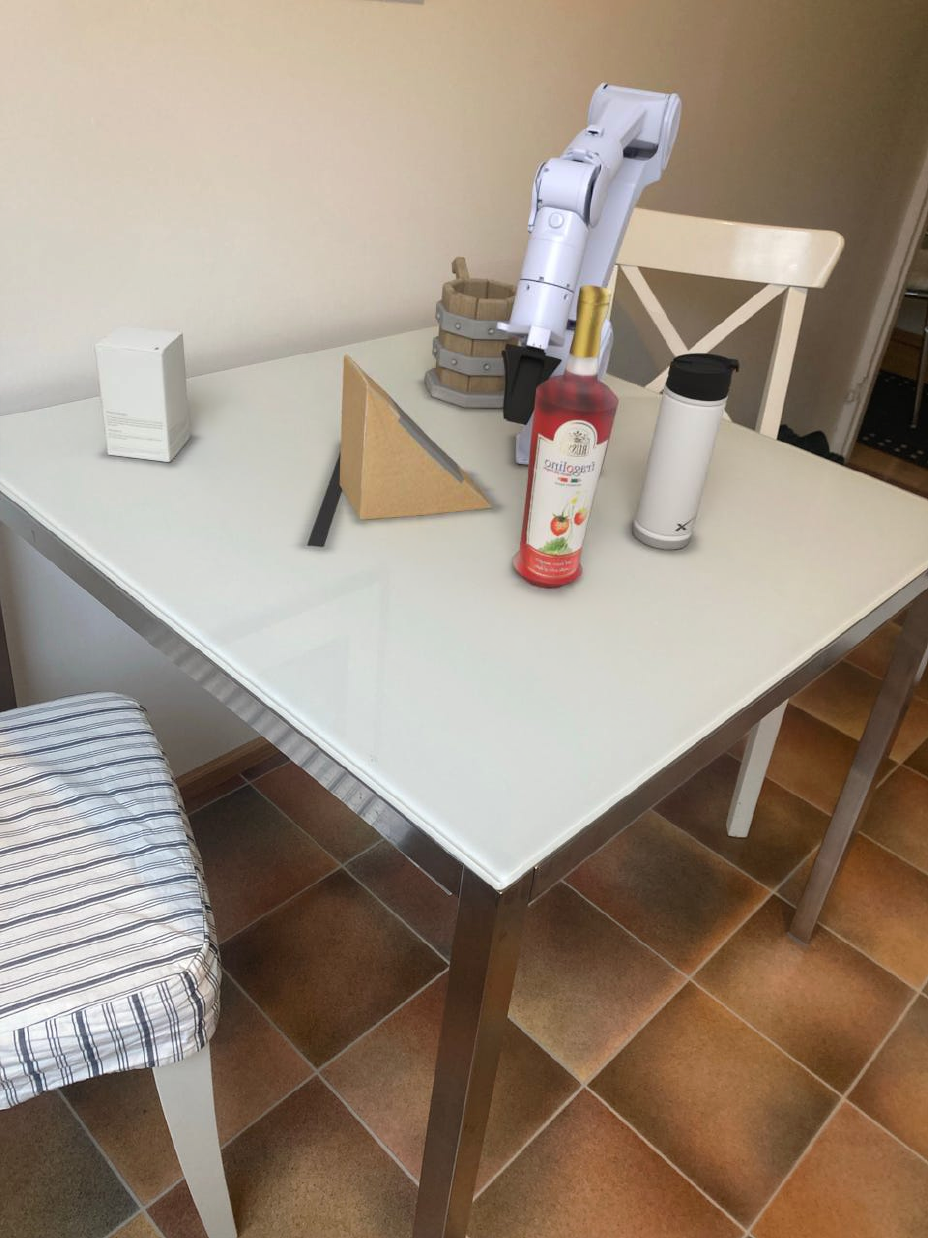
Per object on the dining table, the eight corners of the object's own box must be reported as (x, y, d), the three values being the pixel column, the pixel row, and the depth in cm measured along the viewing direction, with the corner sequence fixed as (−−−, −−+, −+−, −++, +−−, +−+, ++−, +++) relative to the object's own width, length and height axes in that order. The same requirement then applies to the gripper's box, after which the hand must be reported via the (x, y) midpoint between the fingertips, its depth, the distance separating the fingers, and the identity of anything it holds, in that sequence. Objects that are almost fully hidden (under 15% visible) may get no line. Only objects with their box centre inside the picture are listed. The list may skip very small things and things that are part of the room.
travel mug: (692, 556, 104) (741, 373, 93) (630, 544, 105) (671, 361, 93) (692, 529, 109) (739, 352, 98) (633, 517, 110) (673, 341, 99)
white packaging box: (192, 437, 115) (185, 331, 108) (169, 464, 109) (161, 353, 102) (130, 429, 116) (120, 322, 108) (104, 455, 109) (92, 343, 102)
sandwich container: (495, 509, 108) (513, 378, 100) (360, 521, 103) (367, 384, 94) (467, 473, 115) (481, 348, 106) (338, 483, 109) (343, 352, 101)
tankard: (528, 409, 133) (544, 297, 125) (437, 408, 130) (447, 293, 122) (492, 356, 149) (504, 254, 141) (410, 355, 146) (417, 250, 138)
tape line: (355, 447, 118) (355, 446, 118) (323, 547, 98) (323, 546, 98) (342, 445, 118) (342, 445, 118) (307, 545, 98) (307, 544, 98)
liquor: (578, 560, 101) (633, 282, 85) (585, 599, 95) (645, 307, 79) (507, 554, 100) (548, 273, 85) (510, 593, 94) (555, 298, 79)
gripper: (505, 285, 106) (475, 411, 109) (511, 268, 92) (477, 414, 95) (568, 301, 106) (537, 426, 109) (584, 287, 92) (548, 431, 95)
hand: (514, 421), depth 102 cm, fingers open, 7 cm apart
